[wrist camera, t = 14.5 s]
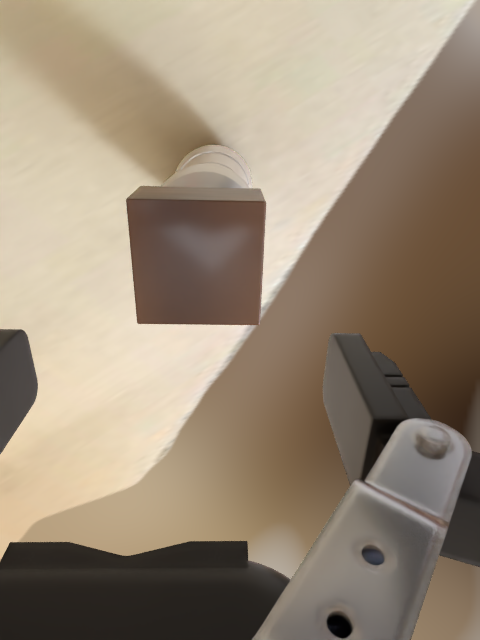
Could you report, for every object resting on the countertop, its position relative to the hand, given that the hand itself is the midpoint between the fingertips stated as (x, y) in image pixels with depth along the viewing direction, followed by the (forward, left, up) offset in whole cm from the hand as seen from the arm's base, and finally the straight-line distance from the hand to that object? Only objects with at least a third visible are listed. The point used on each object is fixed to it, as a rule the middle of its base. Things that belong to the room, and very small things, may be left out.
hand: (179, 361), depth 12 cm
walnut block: (0, 0, -10) cm, 10 cm away
